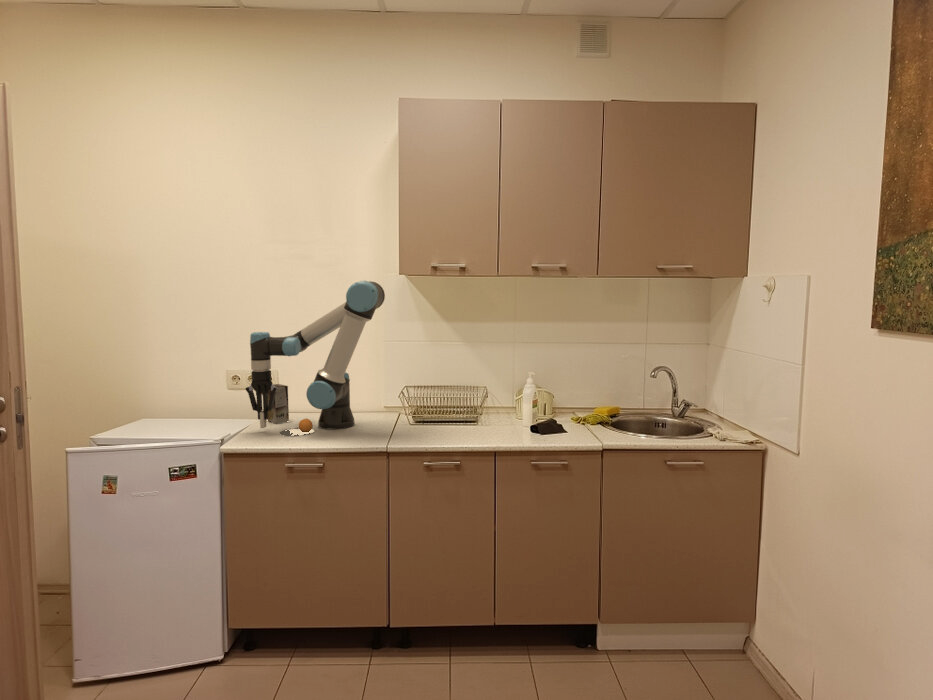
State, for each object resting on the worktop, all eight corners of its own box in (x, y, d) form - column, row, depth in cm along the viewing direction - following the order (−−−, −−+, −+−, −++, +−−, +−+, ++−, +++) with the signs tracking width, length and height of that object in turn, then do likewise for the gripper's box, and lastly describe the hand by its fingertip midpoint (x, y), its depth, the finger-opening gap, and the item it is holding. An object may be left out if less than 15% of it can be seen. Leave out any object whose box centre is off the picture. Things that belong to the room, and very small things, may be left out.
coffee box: (289, 422, 256) (288, 385, 255) (275, 424, 252) (274, 387, 250) (280, 418, 263) (278, 383, 261) (266, 421, 259) (265, 385, 257)
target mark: (319, 428, 245) (319, 427, 245) (309, 436, 231) (309, 435, 231) (286, 427, 245) (286, 427, 245) (274, 436, 231) (274, 435, 231)
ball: (307, 433, 241) (317, 424, 240) (303, 436, 235) (313, 427, 235) (298, 423, 240) (307, 414, 240) (293, 426, 235) (303, 417, 234)
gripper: (280, 368, 239) (282, 425, 242) (249, 368, 240) (251, 425, 242) (273, 371, 232) (275, 429, 234) (241, 371, 233) (244, 429, 235)
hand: (263, 427), depth 238 cm, fingers closed
